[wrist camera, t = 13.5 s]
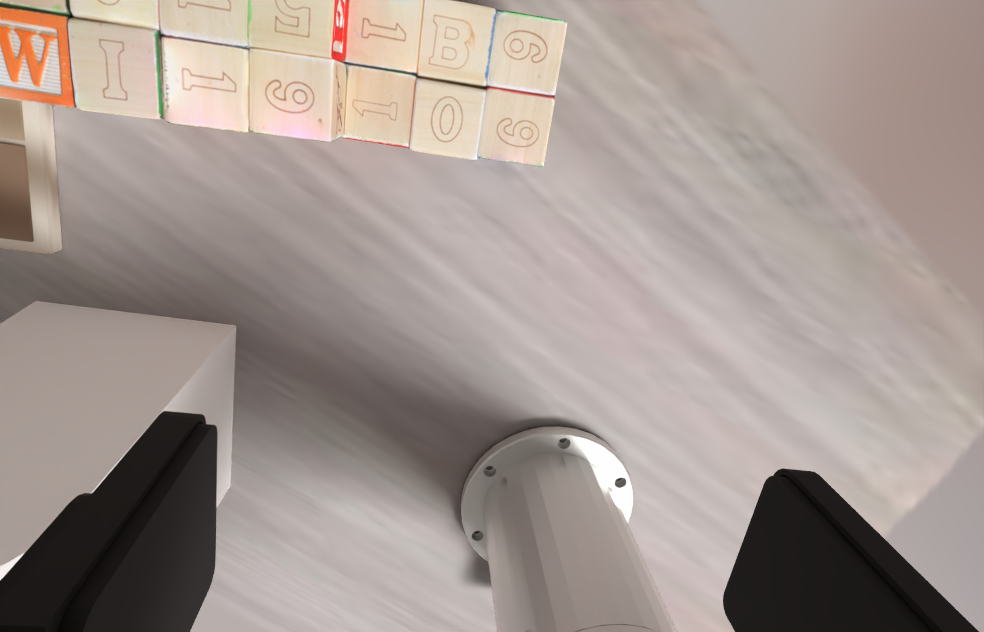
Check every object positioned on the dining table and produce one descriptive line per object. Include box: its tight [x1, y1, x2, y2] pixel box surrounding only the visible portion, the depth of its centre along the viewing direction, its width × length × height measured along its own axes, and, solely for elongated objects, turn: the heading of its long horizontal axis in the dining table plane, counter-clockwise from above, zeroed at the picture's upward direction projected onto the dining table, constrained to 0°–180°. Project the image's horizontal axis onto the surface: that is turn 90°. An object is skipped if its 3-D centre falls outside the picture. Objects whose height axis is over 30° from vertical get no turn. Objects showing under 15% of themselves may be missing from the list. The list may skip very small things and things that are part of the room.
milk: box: [0, 301, 236, 580], centre depth 27 cm, size 12×12×26 cm
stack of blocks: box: [0, 0, 567, 167], centre depth 28 cm, size 21×6×12 cm, turn 81°
